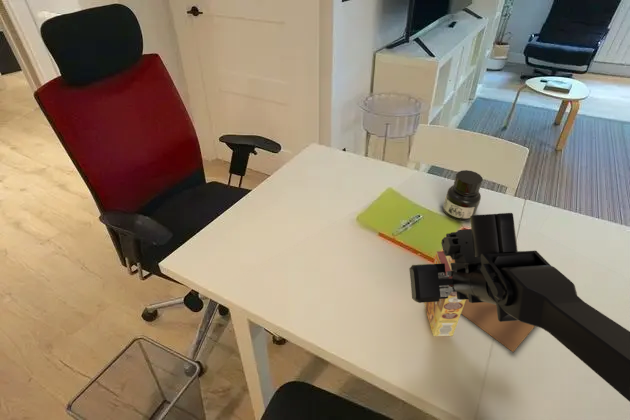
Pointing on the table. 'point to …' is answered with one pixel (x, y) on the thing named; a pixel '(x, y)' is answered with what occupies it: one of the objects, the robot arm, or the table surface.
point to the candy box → (444, 305)
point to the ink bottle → (463, 196)
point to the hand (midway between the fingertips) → (446, 277)
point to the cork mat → (496, 324)
